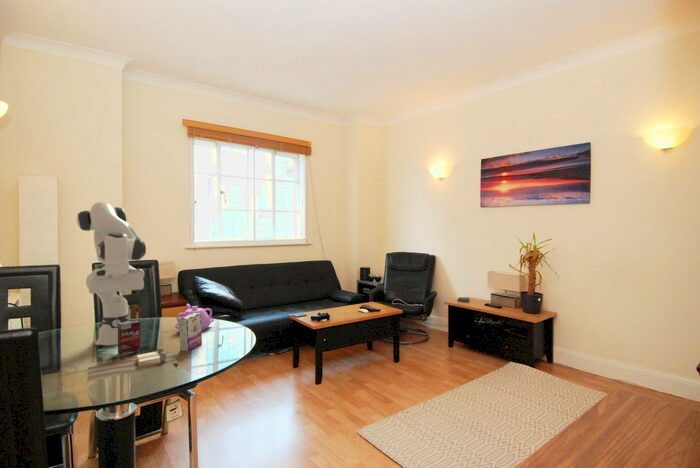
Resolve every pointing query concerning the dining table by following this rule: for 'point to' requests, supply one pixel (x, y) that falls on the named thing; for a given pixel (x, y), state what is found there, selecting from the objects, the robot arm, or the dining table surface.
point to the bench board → (127, 366)
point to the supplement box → (128, 337)
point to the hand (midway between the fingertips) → (117, 301)
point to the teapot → (204, 316)
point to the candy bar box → (190, 331)
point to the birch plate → (148, 359)
